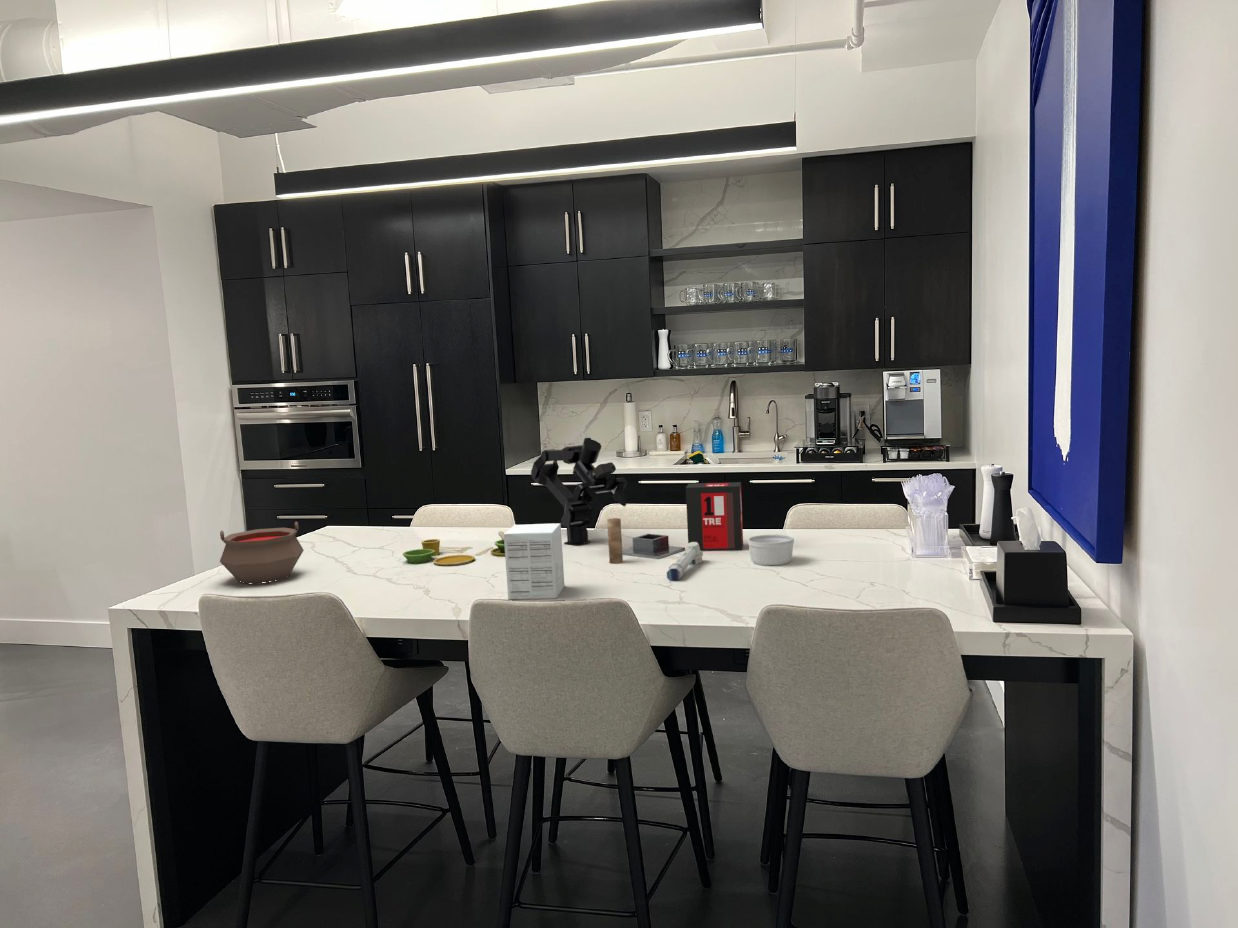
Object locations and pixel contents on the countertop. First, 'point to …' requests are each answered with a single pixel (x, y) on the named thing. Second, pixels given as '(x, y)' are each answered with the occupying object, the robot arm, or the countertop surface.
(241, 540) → the brown cooking pot
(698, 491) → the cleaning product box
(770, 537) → the ramekin
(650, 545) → the grey square socket base
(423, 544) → the tableware set
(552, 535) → the supplement box
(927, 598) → the countertop surface
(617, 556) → the rail post
